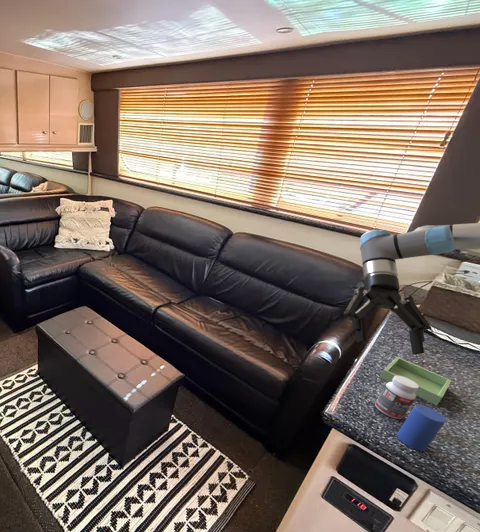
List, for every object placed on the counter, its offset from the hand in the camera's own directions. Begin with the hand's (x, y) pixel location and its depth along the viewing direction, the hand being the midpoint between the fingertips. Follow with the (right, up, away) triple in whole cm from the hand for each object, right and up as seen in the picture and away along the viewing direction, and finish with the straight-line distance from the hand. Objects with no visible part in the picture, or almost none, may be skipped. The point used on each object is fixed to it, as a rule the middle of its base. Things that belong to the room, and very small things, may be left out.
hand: (389, 347), depth 87 cm
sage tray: (+17, -13, +9) cm, 23 cm away
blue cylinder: (-7, -19, -12) cm, 24 cm away
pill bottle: (-4, -16, -3) cm, 17 cm away
